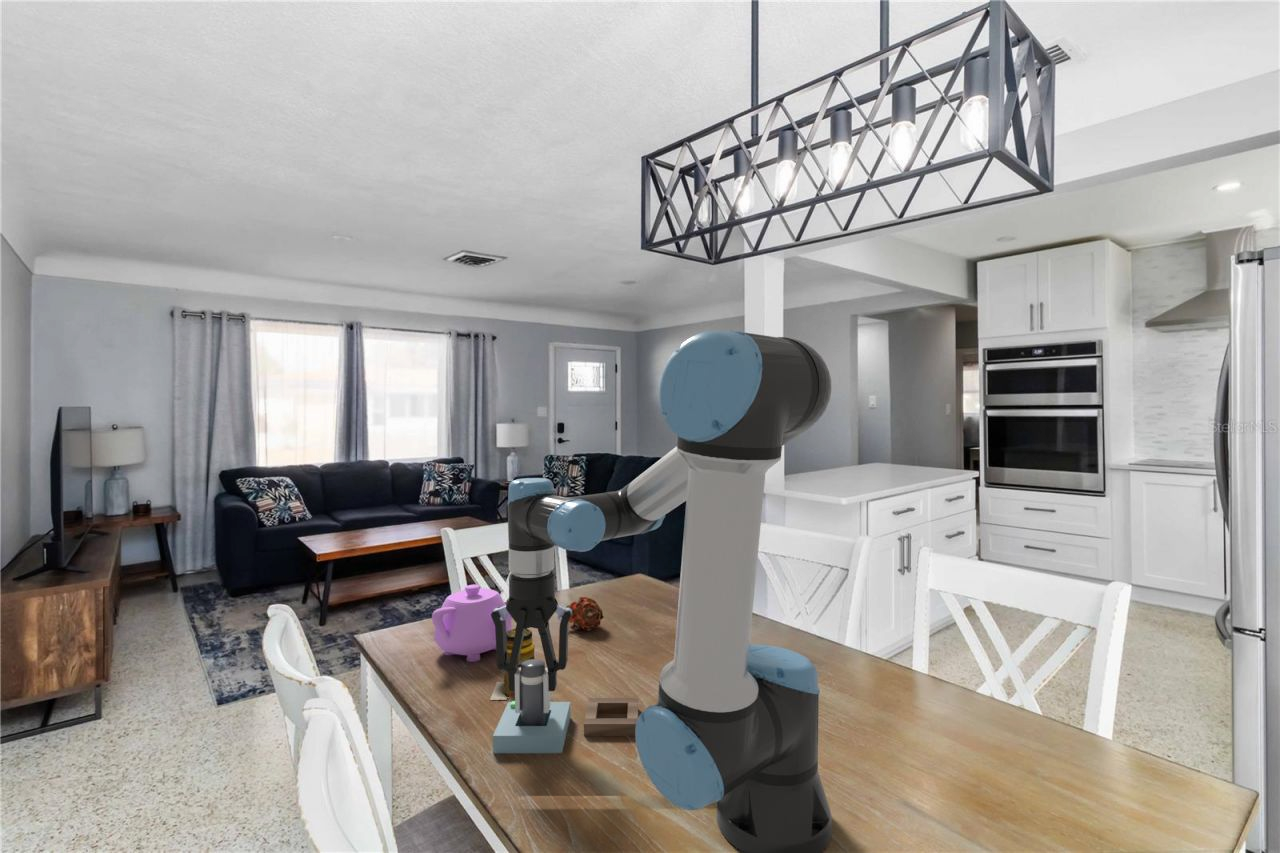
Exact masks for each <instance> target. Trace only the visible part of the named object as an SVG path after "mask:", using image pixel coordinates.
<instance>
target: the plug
mask: <svg viewBox="0 0 1280 853" xmlns="http://www.w3.org/2000/svg"><path fill="white" fill-rule="evenodd" d="M545 669H546V661H544V660H543V659H538V658H537V659H536V658H534V659H531V660H527V661H524V662H523V663H521V674H520V677H521V725H522V726H543V725H544V724H545V713H544V694H543V674H544V671H545Z"/></svg>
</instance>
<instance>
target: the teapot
mask: <svg viewBox="0 0 1280 853" xmlns="http://www.w3.org/2000/svg"><path fill="white" fill-rule="evenodd" d="M505 605H506V603H505V601H504V599H503V597H502V596H501V594H500V593H499V591H496V590H495V589H494V590H493V589H490V588H485V587H484V588H483V587H481V585H480V584H479V585H478V584H469V585H466V586H465V587H464V589H463V590H459V591H457V592H453V593H451V594H450V595H447V597H446V598H445V600H444V602H443V604H442V605H441V607H440V608H437V609H435V610H434V611H433V612H432V614H431V620H432V624H433V625H434V629H433V640H434V643H435V644H436V645H437V646H438V647H439V648H440V649H441V650H442V651H444V652H443V655H444V656H453V655H459V656H466V662H469V663H475V662H478V661H480V660H481V659H482V658H481V654H482V653H485V652H489V651H496V634H495V624H494V622H493V620H492V617H491V613H492V612H493V610H494V609H495V608H496V607H503V606H505ZM512 619H513V618H512V617H511V615H510V614H509V613H508V612H507V618H506V619H505V620H506V632H508V631H509V630H511V629H513V628H512Z"/></svg>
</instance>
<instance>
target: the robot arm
mask: <svg viewBox="0 0 1280 853" xmlns="http://www.w3.org/2000/svg"><path fill="white" fill-rule="evenodd" d="M658 393H659V394H658V395H659V396H658V397H659V398H658V399H659V408H660V411H661V414H662V415H663V416H665V419H664V422H665V423H666V425H667V427H668V428H669V429H670V431H672V433H673V434H675V435H676V436H677V444H676V446H675V447H674V448H673V449H671V450H669V452H667V453H666V454H665V455H663V456H662V457H661V458H660V459H659V460H657V461H656V462H655V463H654V464H652V465H651V466H650V467H648V468H647V469H646V470H645V471H643V472H642V473H641V474H639V475H638V476H637V477H636V478H635V479H633V480H632V481H631V482H629V483H628V484H626V485H625V486H624V487H623V488H621V489H618V490H616V491H615V490H614V491H608V492H600V493H594V494H586V495H579V496H578V495H577V496H568V497H566V496H560V495H556V492H555V488H554V483H553V481H552V480H551V479H549V478H543V477H532V478H531V477H526V478H525V477H524V478H517V479H515V480H512V481H511V482H510V483H509V485H508V493H507V495H508V496H507V498H508V499H507V502H506V505H507V531H508V570H509V572H510V574H509V575H508V600H507V602H506V603H505V606H503V607H496V608H495V609H494V610H493V612H492V613H491V617H492V620H493V622H494V624H495V634H496V650H495V651H496V652H495V653H496V655H495V656H496V667H497V668H496V669H498V670H499V671H501V670H503V671H504V670H506V671H507V672H508V674H509V690H510V691H515V693H514V701H515V713H520V711H521V677H520V674H521V667H517V666H518V664H519V658H520V653H521V648H522V643H523V638H524V633H525V629H531V628H532V629H536V630H538V635H539V638H540V642H541V645H542V646H541V647H542V650H543V654H544V660H545V661H544V662H545V671H544V674H543V694H544V713H548V712H549V709H550V706H551V702H552V701H551V698H552V697H551V694H552V693H551V692H555V691H556V687H557V684H558V682H557V681H558V680H557V679H558V678H557V677H558V675H557V674H558V671H562V670H565V669H566V667H567V663H568V658H569V657H568V656H569V655H568V654H569V650H568V649H569V624H570V622H569V619H570V617H571V614H572V608H571V607H567V606H565V607H564V606H563V605H559V602H558V600H557V599H556V594H555V593H556V590H555V588H556V587H555V586H556V582H555V572H554V571H553V570H554V568H555V546H556V547H558V548H561V549H562V550H567V551H570V552H573V551H574V552H578V553H582V552H583V553H584V552H588V551H591V550H592V549H594V548H595V547H596V546H597V545H598V544H599V543H600V542H603V541H608V540H611V539H616V538H622V537H629V536H633V535H643V534H646V533H648V532H651V531H654V530H656V529H658V528H660V527H661V526H662V524H663V521H664V519H665V518H666V514H667V515H668V514H669V513H670V512H671V511H673V510H674V509H676V508H678V507H679V506H680V505H681V504H683V503H685V502H686V503H685V515H684V523H683V524H684V527H683V540H682V551H681V564H680V565H681V566H680V578H679V590H678V604H677V616H676V629H675V639H674V640H675V642H674V653H673V659H672V660H671V661H669V662H668V663H667V664H665V666H663V668H662V669H661V672H660V674H659V683H658V684H659V685H658V692H657V693H658V695H657V696H658V697H657V702H656V704H652V705H649V706H647V707H646V708H645V709H644V711H642V712H641V713H640V714H639V715H638V719H637V723H636V728H635V736H634V738H635V744H636V750H637V753H638V757H639V759H640V762H641V765H642V766H643V769H644V770H645V772H646V774H647V776H648V778H649V780H650V781H651V783H652V784H653V786H654V788H655V789H656V790H657V791H658V792H659V793H660V794H661V795H662V797H664V798H665V799H666V800H667V801H669V803H671V804H672V805H674V806H675V807H677V808H680V809H682V810H685V811H689V812H690V811H693V812H694V811H699V810H701V809H703V808H706V807H707V806H708V805H711V804H713V803H716V822H717V825H718V828H719V830H720V832H721V834H722V835H723V836H724V838H725V839H726V840H727V841H728V842H729V843H730V844H731V845H732V846H734V847H735V848H736V849H738V850H739V851H741V852H743V853H822V852H823V851H824V850H826V848H827V847H828V845H829V843H830V842H831V839H832V812H831V807H830V805H829V802H828V798H827V796H826V793H825V789H824V786H823V783H822V779H821V777H820V773H819V766H818V765H819V759H818V758H819V707H820V706H819V703H820V702H819V701H820V700H819V698H820V697H819V696H820V693H821V691H820V688H819V679H818V678H819V676H818V674H819V673H818V669H817V667H816V666H815V664H814V663H813V662H812V660H811V659H809V658H808V657H806V656H804V655H802V654H801V653H798V652H796V651H793V650H791V649H787V648H783V647H779V646H775V645H774V646H773V645H767V644H750V641H751V633H752V632H751V631H752V619H753V612H754V611H753V610H754V609H753V608H754V598H755V587H756V577H757V569H758V567H757V566H758V558H759V548H760V547H759V546H760V536H761V526H762V525H761V524H762V515H763V514H762V513H763V502H764V493H765V492H764V491H765V483H766V482H765V481H766V473H767V472H768V471H769V469H771V468H772V467H773V466H775V465H776V464H777V463H778V462H780V461H781V458H782V450H783V449H782V448H783V446H784V445H786V444H787V443H789V442H790V441H792V440H794V439H795V438H797V437H799V436H800V435H802V434H803V433H805V432H806V431H807V430H810V429H811V428H812V427H813V426H814V425H815V424H816V423H817V422H818V421H819V420H820V419H821V418H822V416H823V415H824V413H825V412H826V410H827V407H828V406H829V402H830V400H831V395H832V379H831V374H830V370H829V368H828V364H826V362H825V361H824V358H823V357H822V356H821V354H819V353H818V351H816V350H815V349H814V347H812V346H810V345H809V344H807V343H805V342H803V341H801V340H798V339H797V338H796V339H795V338H791V337H785V336H784V337H783V336H771V335H770V336H769V335H764V334H757V333H749V332H742V331H737V330H736V331H735V330H732V329H731V330H723V331H721V330H720V331H719V330H713V331H712V330H710V331H704V332H703V331H702V332H700V333H697V334H694V335H692V336H691V337H689V338H687V339H686V340H685V341H683V342H682V343H681V345H680V347H679V348H677V349H676V350H674V351H673V353H672V354H671V355H670V357H669V359H668V360H667V363H666V364H665V367H664V369H663V372H662V375H661V379H660V384H659V391H658ZM566 607H567V608H566ZM507 612H508V613H509V614H510V615H511V617H512V618H511V619H512V620H513V621H514V622H515V623H516V626H515V628H516V630H515V637H514V642H513V647H512V652H511V657H510V660H508V659H507V638H506V620H505V619H506V618H507ZM555 613H556V614H557V620H558V621H560V622H559V629H558V630H559V631H558V632H559V637H558V659H557V657H556V653H555V649H554V642H553V639H552V634H551V630H550V619H551V618H552V617H553V615H554V614H555Z"/></svg>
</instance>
